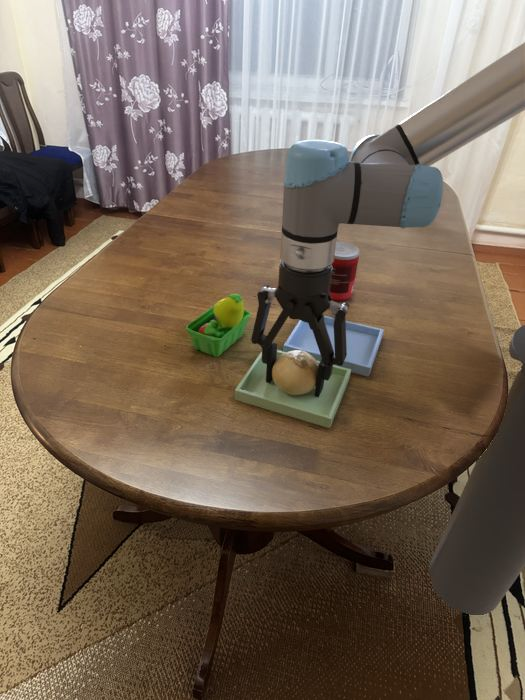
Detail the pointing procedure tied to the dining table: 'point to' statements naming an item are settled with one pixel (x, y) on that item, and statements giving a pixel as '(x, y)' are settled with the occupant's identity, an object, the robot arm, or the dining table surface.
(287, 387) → the onion
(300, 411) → the green tray
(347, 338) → the blue tray
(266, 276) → the dining table surface
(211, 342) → the fruit basket
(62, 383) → the dining table surface
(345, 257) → the canned food
